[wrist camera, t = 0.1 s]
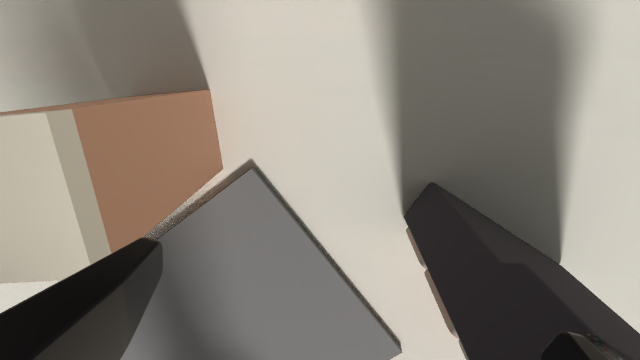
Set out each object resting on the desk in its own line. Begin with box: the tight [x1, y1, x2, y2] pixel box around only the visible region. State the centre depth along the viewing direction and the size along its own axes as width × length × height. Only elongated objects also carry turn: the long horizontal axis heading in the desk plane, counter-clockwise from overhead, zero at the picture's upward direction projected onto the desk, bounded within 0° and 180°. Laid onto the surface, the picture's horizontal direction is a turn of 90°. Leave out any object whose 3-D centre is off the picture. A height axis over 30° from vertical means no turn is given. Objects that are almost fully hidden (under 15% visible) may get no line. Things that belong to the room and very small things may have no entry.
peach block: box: [0, 90, 223, 283], centre depth 17 cm, size 5×5×13 cm
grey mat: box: [120, 167, 402, 360], centre depth 27 cm, size 20×17×1 cm
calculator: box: [404, 182, 640, 360], centre depth 17 cm, size 11×4×15 cm, turn 57°
